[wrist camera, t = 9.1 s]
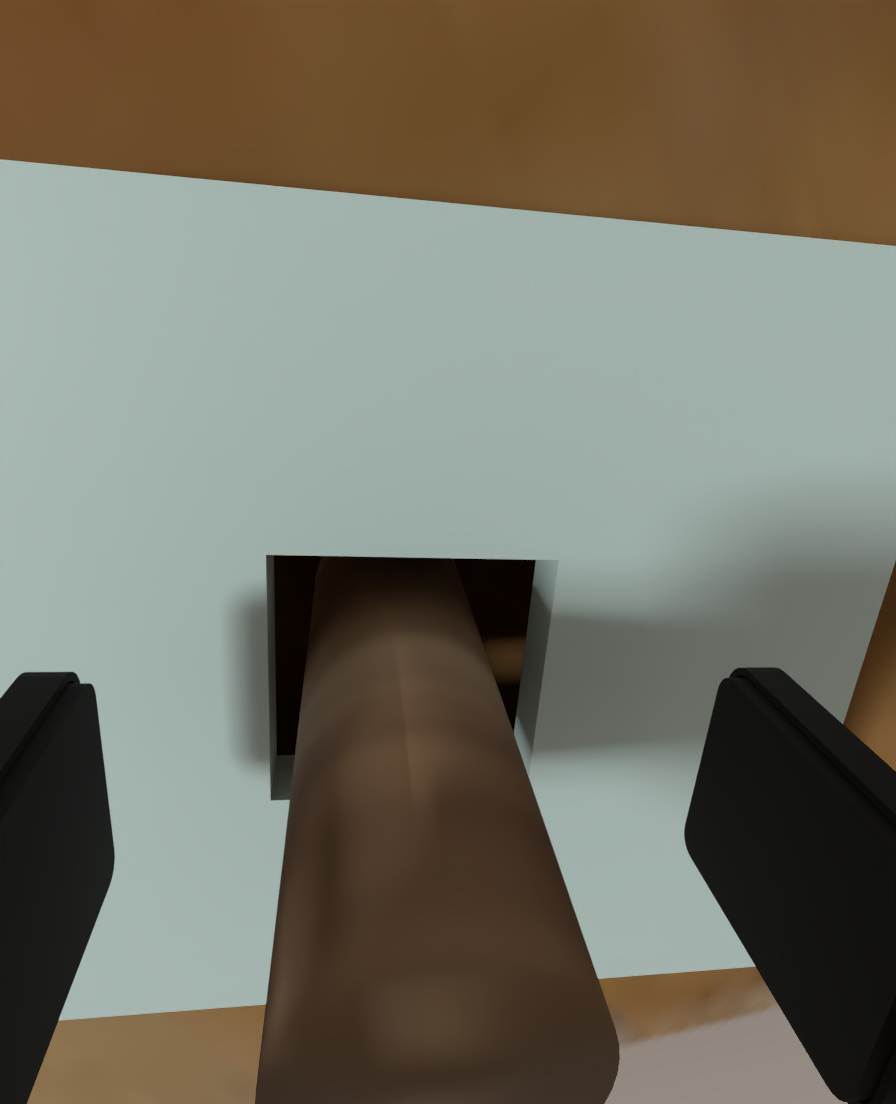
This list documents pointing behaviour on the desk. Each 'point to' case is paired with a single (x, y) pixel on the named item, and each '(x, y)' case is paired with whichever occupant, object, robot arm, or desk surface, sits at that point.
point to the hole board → (423, 513)
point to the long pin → (420, 873)
